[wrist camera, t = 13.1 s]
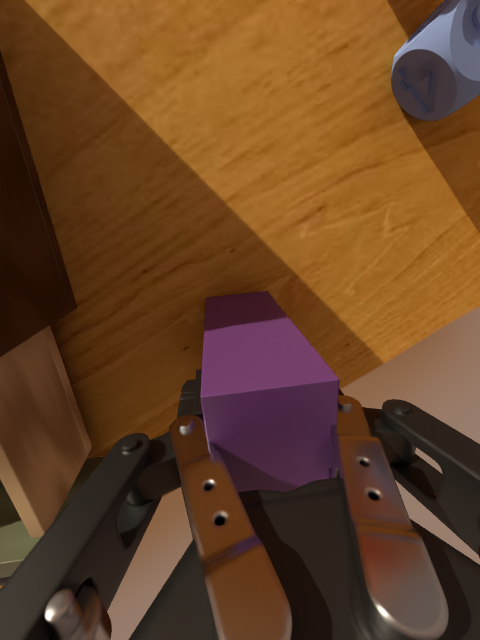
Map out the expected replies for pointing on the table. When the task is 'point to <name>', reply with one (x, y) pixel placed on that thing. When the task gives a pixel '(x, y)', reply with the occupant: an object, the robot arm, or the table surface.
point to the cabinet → (25, 238)
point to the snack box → (265, 395)
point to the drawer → (37, 446)
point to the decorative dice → (440, 62)
